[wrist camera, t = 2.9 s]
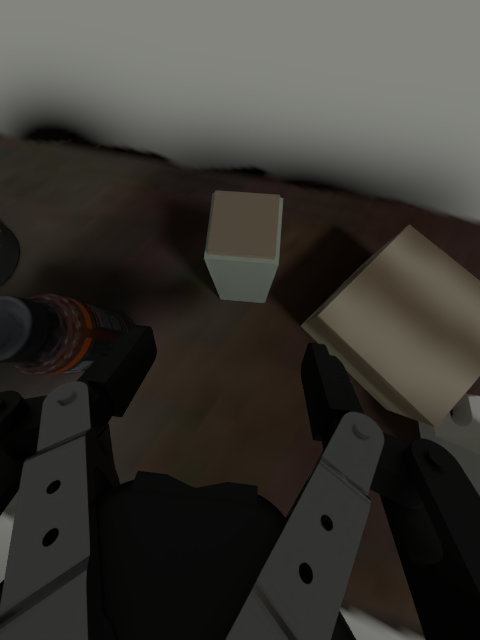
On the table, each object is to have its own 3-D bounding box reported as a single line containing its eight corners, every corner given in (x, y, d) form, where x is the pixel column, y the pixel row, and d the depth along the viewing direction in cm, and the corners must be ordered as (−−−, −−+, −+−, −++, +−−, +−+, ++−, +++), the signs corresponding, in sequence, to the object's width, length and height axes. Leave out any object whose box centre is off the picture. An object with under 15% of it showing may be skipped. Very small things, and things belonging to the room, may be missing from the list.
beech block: (384, 408, 22) (436, 427, 16) (299, 326, 24) (317, 315, 18) (455, 329, 23) (527, 319, 17) (370, 256, 25) (409, 224, 19)
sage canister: (264, 303, 24) (280, 260, 13) (220, 299, 24) (202, 254, 14) (267, 261, 25) (284, 191, 14) (225, 258, 25) (211, 186, 14)
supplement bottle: (105, 306, 24) (-14, 262, 13) (150, 328, 24) (67, 301, 12) (77, 354, 23) (-77, 351, 12) (123, 378, 23) (7, 397, 12)
